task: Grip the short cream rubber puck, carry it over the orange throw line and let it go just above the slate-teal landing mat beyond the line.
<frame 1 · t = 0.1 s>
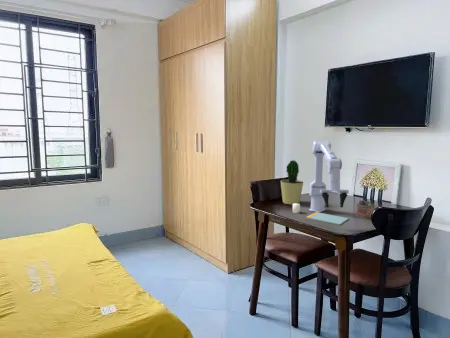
hand: (334, 207, 172), 11 cm above the table, tool pointing down, fingers open, 7 cm apart
potted cactus: (291, 202, 225), on the table
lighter: (362, 217, 191), on the table
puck: (296, 212, 201), on the table
landing mat: (328, 219, 187), on the table
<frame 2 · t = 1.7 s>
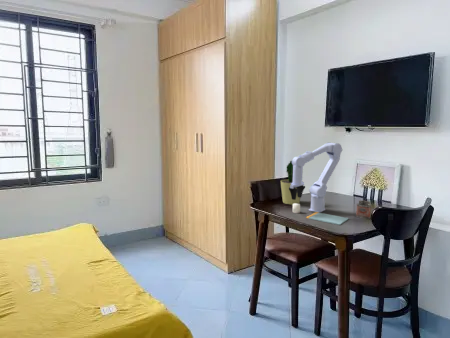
hand: (296, 198, 200), 9 cm above the table, tool pointing down, fingers open, 7 cm apart
nothing on the table moved.
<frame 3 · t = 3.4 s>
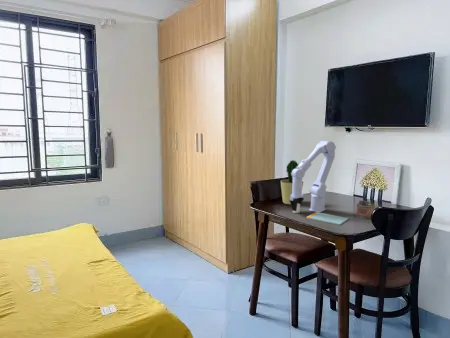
hand: (296, 209, 201), 1 cm above the table, tool pointing down, fingers closed on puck, 4 cm apart
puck: (296, 212, 201), on the table, touching gripper
everything else where it was.
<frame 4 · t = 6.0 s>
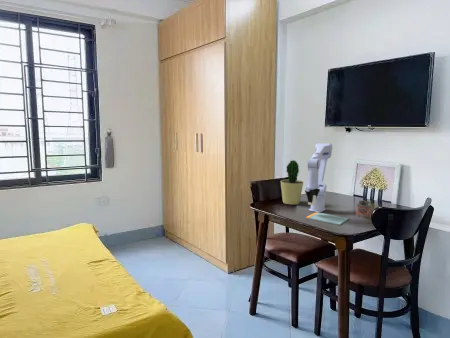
hand: (312, 201, 193), 8 cm above the table, tool pointing down, fingers closed on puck, 4 cm apart
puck: (311, 203, 193), point 7 cm above the table, touching gripper
everything else where it was.
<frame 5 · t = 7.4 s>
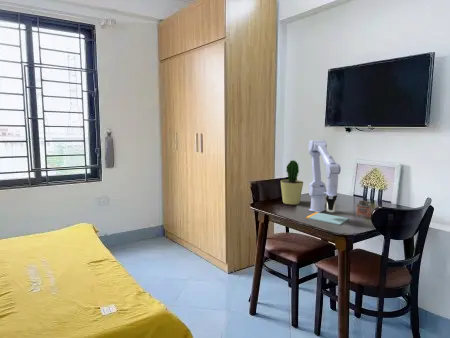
hand: (330, 208, 185), 6 cm above the table, tool pointing down, fingers closed on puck, 4 cm apart
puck: (330, 211, 186), point 5 cm above the table, touching gripper
everything else where it was.
when the fingers open (4 cm above the table, at t = 8.7 s): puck drops 2 cm, resting on landing mat.
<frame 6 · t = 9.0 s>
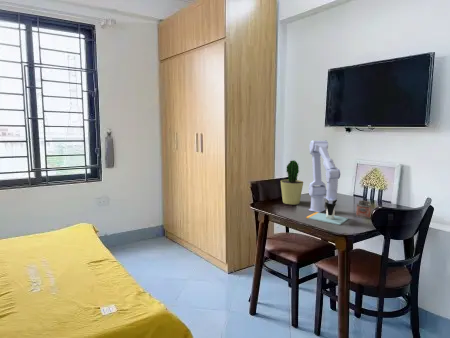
hand: (330, 213, 186), 4 cm above the table, tool pointing down, fingers open, 7 cm apart
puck: (330, 218, 186), point 1 cm above the table, touching landing mat
everything else where it was.
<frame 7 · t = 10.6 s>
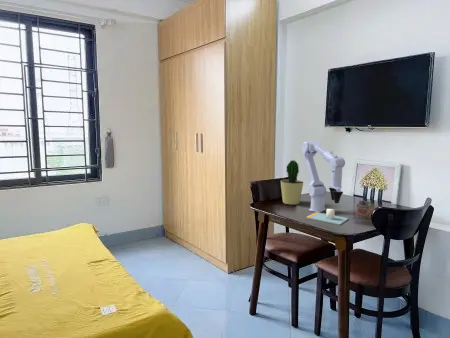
hand: (335, 201, 190), 9 cm above the table, tool pointing down, fingers open, 7 cm apart
nothing on the table moved.
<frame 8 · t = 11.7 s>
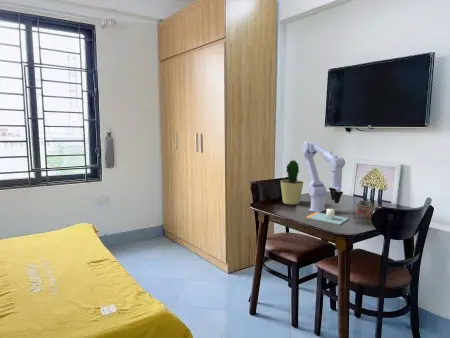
hand: (335, 201, 190), 9 cm above the table, tool pointing down, fingers open, 7 cm apart
nothing on the table moved.
at the end: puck inside the target area (0.3 cm from its centre), point 0.6 cm above the table; the gripper is holding nothing; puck moved 22.0 cm from its start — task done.
